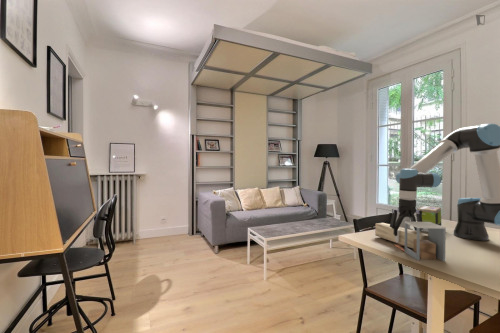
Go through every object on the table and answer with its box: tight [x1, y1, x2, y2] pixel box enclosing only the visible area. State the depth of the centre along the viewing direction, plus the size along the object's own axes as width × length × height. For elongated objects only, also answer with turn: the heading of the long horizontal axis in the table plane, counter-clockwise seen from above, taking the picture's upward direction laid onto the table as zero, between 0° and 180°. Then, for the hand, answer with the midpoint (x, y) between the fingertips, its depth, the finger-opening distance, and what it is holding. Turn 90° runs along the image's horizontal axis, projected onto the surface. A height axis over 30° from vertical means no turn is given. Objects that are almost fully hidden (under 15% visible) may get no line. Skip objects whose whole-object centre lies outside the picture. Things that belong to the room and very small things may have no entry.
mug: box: [396, 211, 417, 230], centre depth 159 cm, size 12×8×11 cm
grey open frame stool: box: [394, 221, 447, 262], centre depth 114 cm, size 12×19×15 cm, turn 176°
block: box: [414, 239, 437, 260], centre depth 109 cm, size 6×6×7 cm
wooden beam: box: [374, 222, 428, 249], centre depth 125 cm, size 6×26×7 cm, turn 19°
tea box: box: [416, 205, 443, 233], centre depth 155 cm, size 15×10×15 cm, turn 130°
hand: (405, 242), depth 123 cm, fingers closed on wooden beam, 8 cm apart
